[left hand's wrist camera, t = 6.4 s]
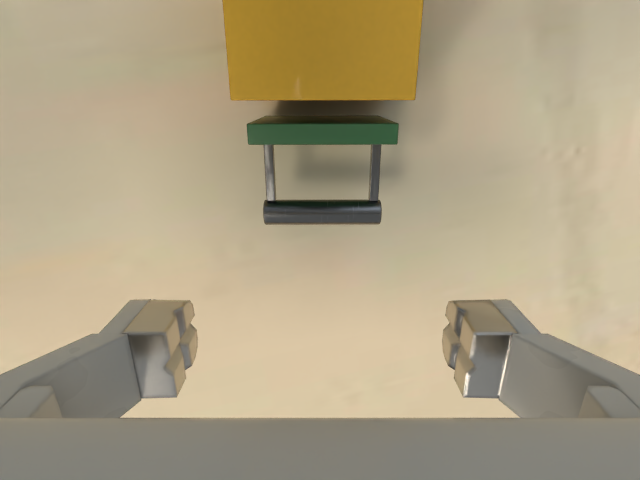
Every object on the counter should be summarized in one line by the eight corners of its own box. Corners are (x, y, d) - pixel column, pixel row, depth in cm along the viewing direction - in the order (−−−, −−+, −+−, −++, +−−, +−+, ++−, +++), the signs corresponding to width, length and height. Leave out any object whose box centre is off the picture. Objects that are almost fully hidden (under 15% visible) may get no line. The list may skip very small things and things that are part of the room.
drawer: (374, 203, 32) (390, 237, 24) (269, 204, 32) (254, 237, 24) (394, -191, 23) (430, -327, 16) (249, -191, 23) (215, -326, 16)
